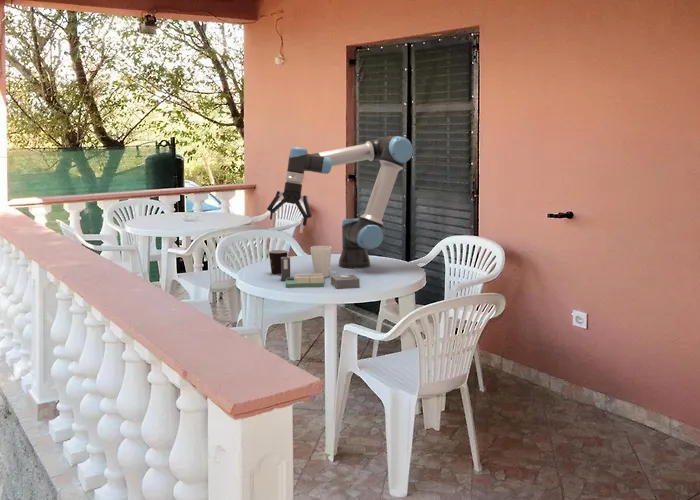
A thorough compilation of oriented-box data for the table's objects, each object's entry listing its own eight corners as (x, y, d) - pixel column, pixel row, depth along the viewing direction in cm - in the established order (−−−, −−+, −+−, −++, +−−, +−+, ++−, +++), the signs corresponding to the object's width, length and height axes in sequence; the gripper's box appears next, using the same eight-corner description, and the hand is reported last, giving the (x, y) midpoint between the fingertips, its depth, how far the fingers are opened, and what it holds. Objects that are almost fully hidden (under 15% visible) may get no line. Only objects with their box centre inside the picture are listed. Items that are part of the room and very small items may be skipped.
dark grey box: (353, 282, 326) (353, 273, 325) (359, 287, 317) (359, 277, 316) (330, 283, 324) (330, 274, 323) (336, 288, 314) (336, 279, 313)
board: (322, 281, 329) (322, 276, 328) (323, 286, 318) (323, 281, 318) (285, 282, 327) (285, 276, 327) (285, 287, 317) (285, 282, 316)
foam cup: (324, 278, 335) (323, 249, 333) (307, 276, 340) (306, 248, 337) (335, 275, 343) (335, 246, 340) (318, 273, 347) (318, 245, 345)
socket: (322, 279, 326) (322, 273, 325) (323, 282, 318) (323, 277, 318) (295, 279, 325) (295, 274, 324) (295, 283, 317) (295, 277, 317)
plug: (290, 279, 334) (290, 256, 332) (290, 281, 329) (290, 258, 328) (281, 279, 334) (281, 256, 332) (281, 281, 329) (280, 258, 327)
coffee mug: (284, 275, 343) (284, 253, 341) (266, 274, 345) (266, 252, 343) (291, 270, 354) (291, 249, 352) (274, 269, 356) (273, 248, 354)
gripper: (264, 177, 332) (257, 225, 334) (318, 186, 326) (310, 235, 328) (270, 178, 339) (263, 225, 341) (323, 187, 333) (315, 234, 335)
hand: (286, 230), depth 334 cm, fingers open, 13 cm apart
